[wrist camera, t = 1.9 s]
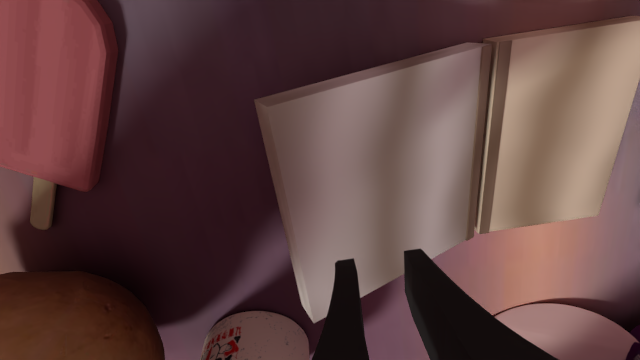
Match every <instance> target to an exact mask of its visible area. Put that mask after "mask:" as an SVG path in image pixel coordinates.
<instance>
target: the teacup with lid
mask: <svg viewBox="0 0 640 360" xmlns="http://www.w3.org/2000/svg"><path fill="white" fill-rule="evenodd" d="M200 360H309V342H308V338H307V336H306V334H305V332H304V331H303V329H302V328H301V327H300V326H299V325H298V324H297V323H295V322H294V321H292V320H291V319H289V318H287V317H285V316H283V315H280V314H277V313H273V312H267V311H247V312H241V313H237V314H234V315H231V316H229V317H227V318H225V319H223V320H221V321H220V322H218V323H217V324H216V325H215V326H214V327H213V328H212V329H211V330H210V331H209V333H208V335H207V337H206V339H205V343H204V347H203V350H202V354H201V358H200Z"/></svg>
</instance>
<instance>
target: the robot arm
mask: <svg viewBox="0 0 640 360" xmlns="http://www.w3.org/2000/svg"><path fill="white" fill-rule="evenodd" d="M404 276H405V293H406V296H407V300H408V303H409V307H410V310H411V313H412V317H413V319H414V322H415V324H416V327H417V329H418V331H419V334H420V336H421V339H422V341H423V343H424V346H425V348H426V350H427V353H428V355H429V358H430V360H559V359H557V358H555V357H554V356H552V355H550V354H549V353H547V352H545V351H544V350H542V349H541V348H539V347H537V346H536V345H534V344H533V343H531V342H529V341H528V340H526V339H525V338H523V337H522V336H520V335H519V334H517V333H516V332H514V331H513V330H511V329H510V328H509V327H507V326H506V325H504V324H503V323H502V322H500V321H499V320H498V319H496V318H495V317H494V316H492V315H491V314H490V313H489V312H487V311H486V310H485V309H484V308H482V307H481V306H480V305H479V304H478V303H476V302H475V301H474V300H473V299H472V298H471V297H469V296H468V295H467V294H466V293H465V292H464V291H463V290H462V289H461V288H459V287H458V286H457V285H456V284H455V283H454V282H453V281H452V280H451V279H450V278H449V277H448V276H447V275H446V274H445V273H444V272H443V271H442V270H441V269H440V268H439V267H438V266H437V265H436V264H435V263H434V262H433V261H432V260H431V259H430V258H429V256H428V255H427V254H426V253H425V252H424V251H423V250H422V249H414V250H407V251H404ZM312 360H369V355H368V351H367V346H366V341H365V336H364V326H363V317H362V308H361V300H360V291H359V282H358V273H357V269H356V265H355V261H354V258H352V259H345V260H338V261H337V262H336V263H335V278H334V286H333V292H332V296H331V301H330V306H329V310H328V313H327V317H326V320H325V324H324V327H323V331H322V334H321V336H320V339H319V342H318V345H317V347H316V350H315V353H314V355H313V358H312Z"/></svg>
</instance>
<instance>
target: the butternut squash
mask: <svg viewBox="0 0 640 360" xmlns="http://www.w3.org/2000/svg"><path fill="white" fill-rule="evenodd" d="M0 360H165V355H164V347H163V343H162V340H161V337H160V334H159V332H158V329H157V327H156V325H155V323H154V321H153V319H152V317H151V315H150V314H149V312H148V310H147V308H146V307H145V305H144V304H143V303H142V302H141V301H140V300H139V299H138V298H137V297H136V296H135V295H134V294H133V293H131V292H130V291H129V290H127V289H126V288H124V287H122V286H121V285H119V284H117V283H115V282H113V281H111V280H109V279H107V278H104V277H101V276H97V275H94V274H91V273H87V272H83V271H52V272H11V273H5V274H0Z"/></svg>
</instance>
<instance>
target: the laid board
mask: <svg viewBox="0 0 640 360" xmlns="http://www.w3.org/2000/svg"><path fill="white" fill-rule="evenodd" d="M483 43H484V44H492V50H491V61H490V71H489V81H488V92H487V102H486V113H485V123H484V134H483V144H482V154H481V165H480V175H479V186H478V196H477V206H476V217H475V227H474V229H475V230H476V232H477V233H480V234H483V233H489V232H490V231H497V230H504V229H510V228H517V227H524V226H531V225H538V224H545V223H551V222H558V221H565V220H572V219H579V218H585V217H592V216H598V214H599V211H600V208H601V205H602V201H603V198H604V195H605V191H606V188H607V185H608V181H609V178H610V175H611V172H612V168H613V165H614V162H615V158H616V155H617V152H618V148H619V145H620V142H621V139H622V135H623V132H624V129H625V125H626V122H627V119H628V115H629V112H630V109H631V106H632V102H633V99H634V96H635V92H636V89H637V86H638V82H639V79H640V16H627V17H621V18H614V19H608V20H601V21H595V22H589V23H582V24H576V25H569V26H563V27H556V28H550V29H543V30H537V31H530V32H524V33H517V34H511V35H504V36H498V37H491V38H485V39H483Z"/></svg>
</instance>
